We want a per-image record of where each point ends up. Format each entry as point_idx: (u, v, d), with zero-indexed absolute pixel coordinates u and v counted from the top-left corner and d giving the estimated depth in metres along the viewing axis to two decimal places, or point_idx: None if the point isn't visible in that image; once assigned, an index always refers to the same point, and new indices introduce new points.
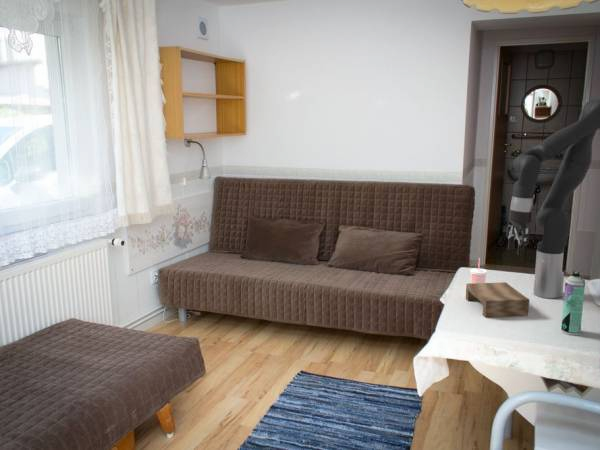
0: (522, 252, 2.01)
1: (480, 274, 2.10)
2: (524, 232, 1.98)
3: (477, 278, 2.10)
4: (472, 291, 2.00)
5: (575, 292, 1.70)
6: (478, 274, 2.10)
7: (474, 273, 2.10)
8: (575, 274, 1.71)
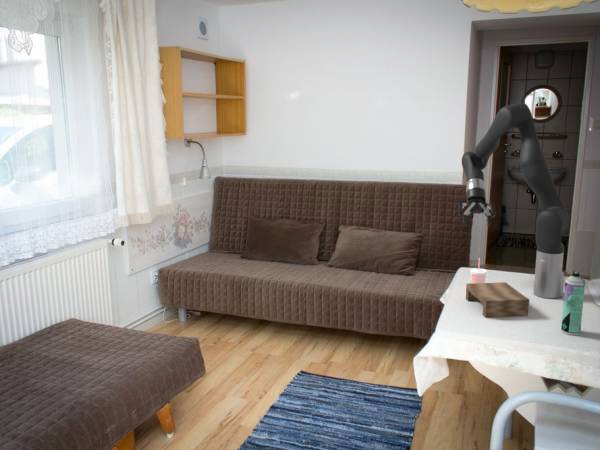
0: (463, 221, 2.21)
1: (480, 274, 2.10)
2: None
3: (477, 278, 2.10)
4: (472, 291, 2.00)
5: (575, 292, 1.70)
6: (478, 274, 2.10)
7: (474, 273, 2.10)
8: (575, 274, 1.71)
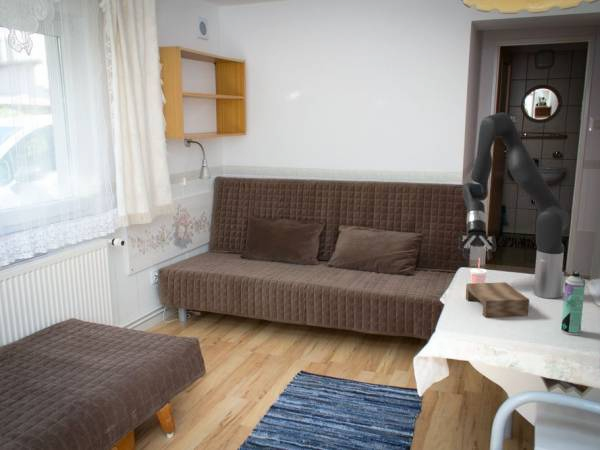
0: (463, 255, 2.18)
1: (480, 274, 2.10)
2: None
3: (477, 278, 2.10)
4: (472, 291, 2.00)
5: (575, 292, 1.70)
6: (478, 274, 2.10)
7: (474, 273, 2.10)
8: (575, 274, 1.71)
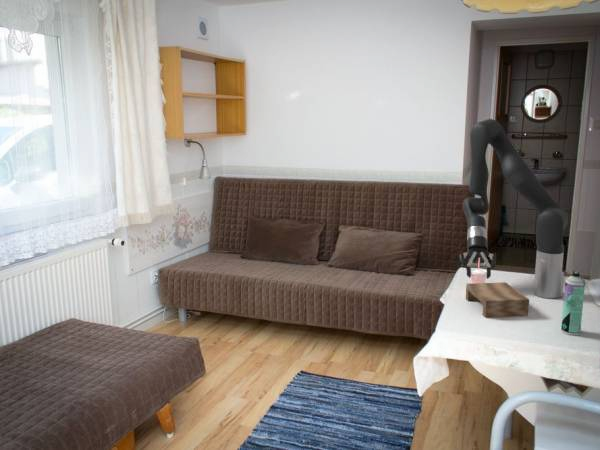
0: (467, 273, 2.12)
1: (480, 274, 2.10)
2: (460, 257, 2.18)
3: (477, 278, 2.10)
4: (472, 291, 2.00)
5: (575, 292, 1.70)
6: (478, 274, 2.10)
7: (474, 273, 2.10)
8: (575, 274, 1.71)
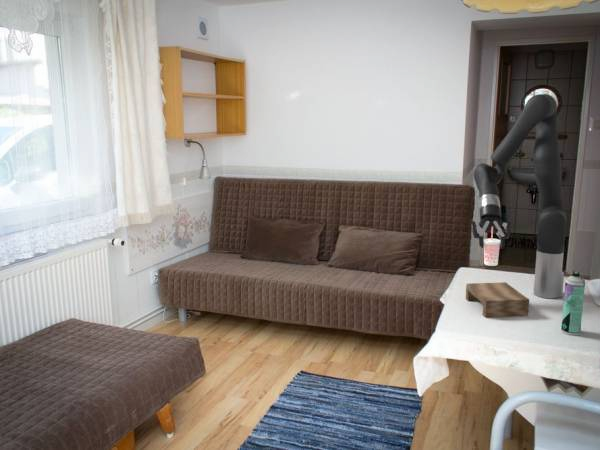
0: (479, 244, 2.00)
1: (493, 244, 1.97)
2: None
3: (490, 248, 1.98)
4: (472, 291, 2.00)
5: (575, 292, 1.70)
6: (491, 244, 1.97)
7: (487, 243, 1.98)
8: (575, 274, 1.71)
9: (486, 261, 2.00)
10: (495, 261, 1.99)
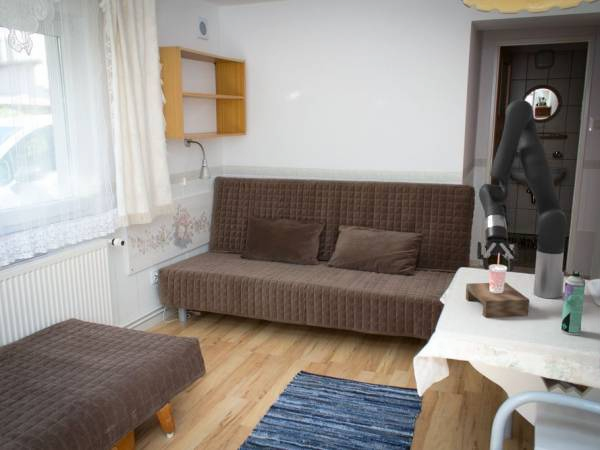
0: (483, 265, 1.95)
1: (500, 271, 1.93)
2: (477, 248, 2.01)
3: (496, 275, 1.93)
4: (472, 291, 2.00)
5: (575, 292, 1.70)
6: (498, 271, 1.93)
7: (493, 270, 1.93)
8: (575, 274, 1.71)
9: (492, 288, 1.96)
10: (501, 288, 1.95)
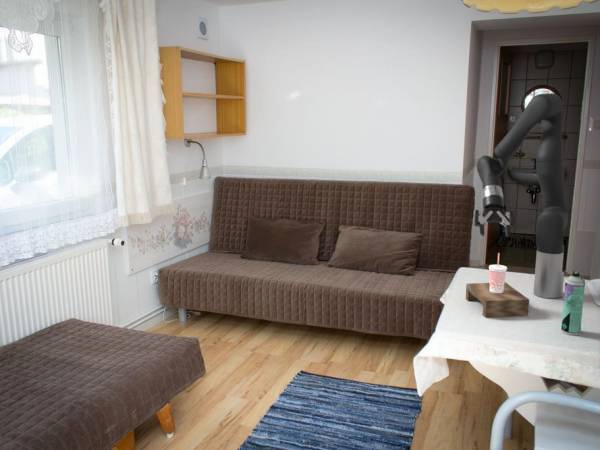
0: (480, 231, 2.05)
1: (500, 271, 1.93)
2: None
3: (496, 275, 1.94)
4: (472, 291, 2.00)
5: (575, 292, 1.70)
6: (498, 271, 1.93)
7: (493, 270, 1.94)
8: (575, 274, 1.71)
9: (492, 288, 1.96)
10: (501, 288, 1.95)
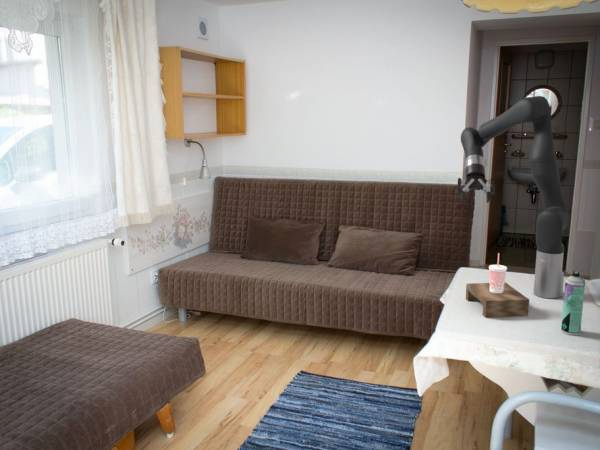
0: (462, 198, 2.16)
1: (500, 271, 1.93)
2: (457, 184, 2.21)
3: (496, 275, 1.94)
4: (472, 291, 2.00)
5: (575, 292, 1.70)
6: (498, 271, 1.93)
7: (493, 270, 1.94)
8: (575, 274, 1.71)
9: (492, 288, 1.96)
10: (501, 288, 1.95)
